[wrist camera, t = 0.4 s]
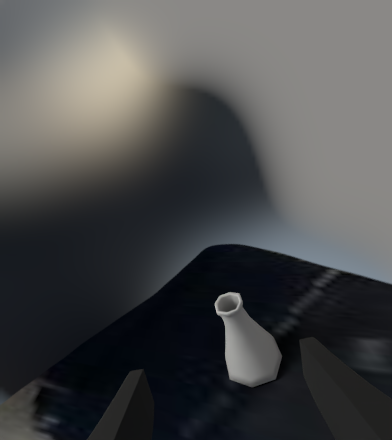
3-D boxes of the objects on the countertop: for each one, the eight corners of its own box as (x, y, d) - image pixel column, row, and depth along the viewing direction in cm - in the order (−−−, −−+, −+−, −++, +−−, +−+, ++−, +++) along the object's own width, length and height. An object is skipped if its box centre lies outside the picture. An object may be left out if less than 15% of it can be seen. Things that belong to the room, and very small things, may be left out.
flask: (280, 331, 34) (260, 275, 30) (285, 389, 28) (260, 327, 24) (228, 335, 36) (204, 283, 33) (222, 388, 30) (191, 333, 26)
